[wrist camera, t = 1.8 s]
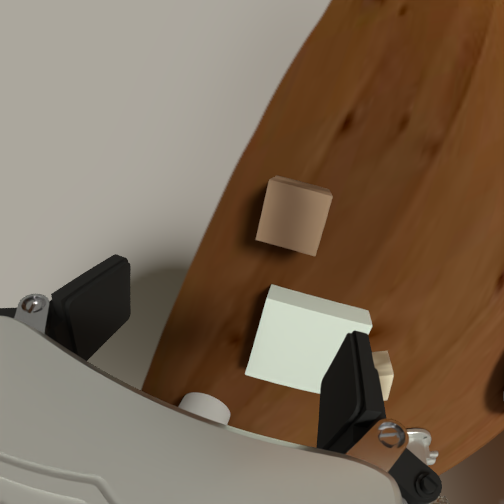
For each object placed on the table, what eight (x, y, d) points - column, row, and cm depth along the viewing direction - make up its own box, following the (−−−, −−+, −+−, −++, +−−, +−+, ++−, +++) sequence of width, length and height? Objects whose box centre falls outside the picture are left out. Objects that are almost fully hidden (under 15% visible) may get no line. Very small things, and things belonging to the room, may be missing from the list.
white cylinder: (175, 390, 39) (142, 445, 28) (221, 394, 37) (193, 457, 26) (193, 420, 41) (167, 472, 30) (236, 425, 39) (214, 483, 28)
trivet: (368, 310, 28) (372, 325, 25) (332, 379, 32) (332, 396, 29) (271, 284, 29) (266, 297, 26) (250, 358, 33) (244, 374, 30)
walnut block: (329, 189, 25) (332, 196, 20) (315, 238, 27) (315, 256, 22) (277, 175, 25) (269, 179, 21) (265, 225, 27) (255, 239, 23)
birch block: (387, 350, 29) (393, 374, 25) (382, 375, 30) (387, 400, 26) (352, 353, 30) (355, 378, 26) (350, 378, 31) (351, 403, 27)
